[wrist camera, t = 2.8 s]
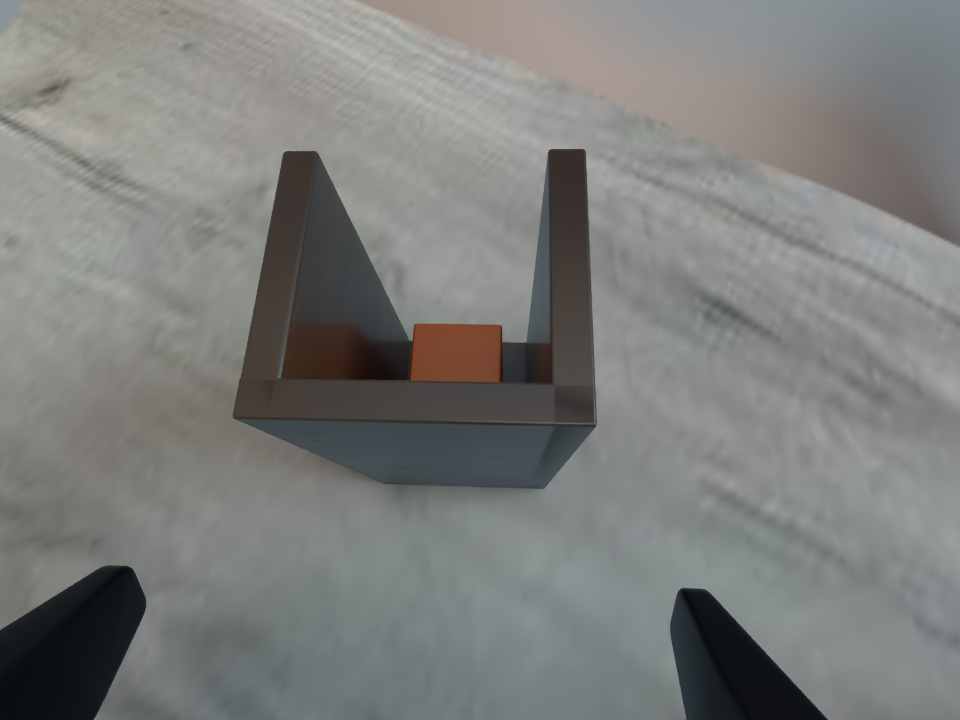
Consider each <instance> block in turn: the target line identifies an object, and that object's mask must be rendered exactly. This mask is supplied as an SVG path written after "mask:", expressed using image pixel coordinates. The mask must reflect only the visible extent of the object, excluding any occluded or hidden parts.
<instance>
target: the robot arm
mask: <svg viewBox="0 0 960 720" xmlns="http://www.w3.org/2000/svg"><path fill="white" fill-rule="evenodd" d="M145 609H146V598H145V595H144V593H143V590H142V588H141V586H140V583H139V581H138V579H137V576H136V574H135V572H134V570H133V569H132V568H130V567H128V566H113V565H109V566H104V567H101V568H99V569H97V570H96V571H94V572H93V573H91V574H89V575H88V576H86V577H85V578H83V579H81V580H80V581H78V582H77V583H75V584H73V585H72V586H70V587H69V588H67V589H65V590H64V591H62V592H61V593H59V594H57V595H56V596H54V597H53V598H51V599H49V600H48V601H46V602H45V603H43V604H41V605H40V606H38V607H37V608H35V609H33V610H32V611H30V612H29V613H27V614H25V615H24V616H22V617H21V618H19V619H17V620H16V621H14V622H13V623H11V624H9V625H8V626H6V627H5V628H3V629H1V630H0V720H94V718H95V716H96V715H97V713H98V711H99V709H100V707H101V705H102V703H103V701H104V699H105V697H106V695H107V693H108V691H109V688H110V686H111V684H112V682H113V680H114V678H115V676H116V673H117V671H118V669H119V667H120V665H121V663H122V661H123V658H124V656H125V654H126V652H127V650H128V648H129V646H130V643H131V641H132V639H133V637H134V635H135V633H136V631H137V628H138V626H139V624H140V622H141V620H142V618H143V615H144V613H145ZM670 632H671V640H672V645H673V650H674V656H675V661H676V666H677V672H678V677H679V682H680V687H681V693H682V698H683V703H684V708H685V714H686V719H687V720H828V719H827V718H826V717H825V716H824V715H823V714H822V713H821V712H820V711H819V710H818V709H817V707H816V706H815V705H814V704H813V703H812V702H811V701H810V700H809V699H808V698H807V697H806V696H805V695H804V693H803V692H802V691H801V690H800V689H799V688H798V687H797V686H796V685H795V684H794V683H793V682H792V681H791V679H790V678H789V677H788V676H787V675H786V674H785V673H784V672H783V671H782V670H781V669H780V668H779V667H778V665H777V664H776V663H775V662H774V661H773V660H772V659H771V658H770V657H769V656H768V655H767V654H766V653H765V651H764V650H763V649H762V648H761V647H760V646H759V645H758V644H757V643H756V642H755V641H754V640H753V639H752V637H751V636H750V635H749V634H748V633H747V632H746V631H745V630H744V629H743V628H742V627H741V626H740V625H739V624H738V622H737V621H736V620H735V619H734V618H733V617H732V616H731V615H730V614H729V613H728V612H727V611H726V610H725V608H724V607H723V606H722V605H721V604H720V603H719V602H718V601H717V600H716V599H715V598H714V597H713V596H712V594H710V593H709V592H708V591H706V590H704V589H694V588H682V589H680V590H679V591H678V593H677V597H676V601H675V605H674V610H673V614H672V618H671V623H670Z"/></svg>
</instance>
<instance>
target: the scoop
mask: <svg viewBox="0 0 960 720" xmlns="http://www.w3.org/2000/svg"><path fill="white" fill-rule="evenodd" d="M412 346H413V341H409V339H408V337H407V335H406V333H405V331H404V328H403V326H402V324H401V322H400V320H399V318H398V316H397V314H396V312H395V310H394V308H393V306H392V304H391V302H390V300H389V298H388V296H387V294H386V292H385V290H384V287H383V285H382V283H381V281H380V279H379V277H378V275H377V273H376V271H375V269H374V267H373V265H372V263H371V261H370V259H369V257H368V255H367V253H366V251H365V249H364V246H363V244H362V242H361V240H360V238H359V236H358V234H357V232H356V230H355V228H354V226H353V224H352V222H351V220H350V218H349V216H348V214H347V212H346V210H345V208H344V205H343V203H342V201H341V199H340V197H339V195H338V193H337V191H336V189H335V187H334V185H333V183H332V181H331V179H330V177H329V175H328V173H327V171H326V169H325V167H324V164H323V162H322V160H321V158H320V156H319V154H318V153H317V152H315V151H286V152H284V154H283V158H282V163H281V169H280V174H279V179H278V184H277V190H276V195H275V200H274V206H273V211H272V216H271V221H270V227H269V232H268V237H267V243H266V248H265V253H264V258H263V264H262V269H261V274H260V280H259V285H258V290H257V295H256V301H255V306H254V311H253V316H252V322H251V327H250V332H249V338H248V343H247V348H246V353H245V359H244V364H243V369H242V375H241V378H240V380H239V386H238V391H237V396H236V401H235V407H234V412H233V418H234V419H236V420H239V421H241V422H243V423H246V424H248V425H250V426H252V427H255V428H257V429H259V430H262V431H264V432H266V433H269V434H271V435H273V436H275V437H278V438H280V439H282V440H285V441H287V442H289V443H292V444H294V445H296V446H299V447H301V448H303V449H305V450H308V451H310V452H312V453H315V454H317V455H319V456H322V457H324V458H326V459H329V460H331V461H333V462H335V463H338V464H340V465H342V466H345V467H347V468H349V469H352V470H354V471H356V472H358V473H361V474H363V475H365V476H368V477H370V478H372V479H375V480H377V481H379V482H381V483H384V484H409V485H442V486H476V487H510V488H545V487H546V486H547V485H548V483H549V482H550V481H551V480H552V479H553V477H554V476H555V475H556V474H557V473H558V471H559V470H560V469H561V468H562V467H563V465H564V464H565V463H566V462H567V461H568V459H569V458H570V457H571V456H572V455H573V453H574V452H575V451H576V450H577V449H578V447H579V446H580V445H581V444H582V443H583V441H584V440H585V439H586V438H587V437H588V435H589V434H590V433H591V432H592V431H593V429H594V428H595V427H596V425H597V416H596V392H595V368H594V344H593V319H592V294H591V269H590V244H589V220H588V195H587V170H586V152H585V150H584V149H551V150H549V152H548V158H547V166H546V175H545V184H544V193H543V202H542V211H541V219H540V228H539V237H538V246H537V255H536V264H535V272H534V281H533V290H532V299H531V308H530V317H529V325H528V334H527V343H502V382H466V381H413V380H410V371H411V358H412Z"/></svg>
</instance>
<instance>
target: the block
mask: <svg viewBox="0 0 960 720" xmlns="http://www.w3.org/2000/svg"><path fill="white" fill-rule="evenodd" d="M410 380H413V381H466V382H502V326H501V325H467V324H415V325H414V333H413V346H412V358H411V371H410Z"/></svg>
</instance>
